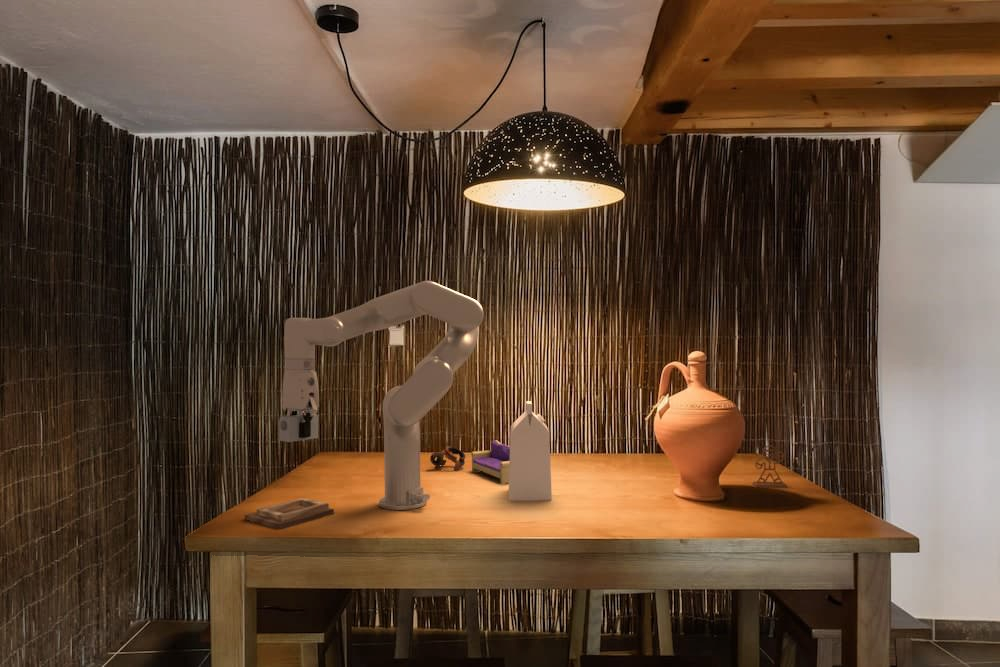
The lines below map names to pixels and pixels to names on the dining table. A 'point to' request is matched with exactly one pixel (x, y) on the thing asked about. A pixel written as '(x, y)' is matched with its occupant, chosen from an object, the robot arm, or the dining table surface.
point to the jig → (290, 513)
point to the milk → (529, 458)
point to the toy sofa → (493, 461)
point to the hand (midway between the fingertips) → (299, 435)
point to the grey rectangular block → (296, 428)
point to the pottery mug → (450, 456)
